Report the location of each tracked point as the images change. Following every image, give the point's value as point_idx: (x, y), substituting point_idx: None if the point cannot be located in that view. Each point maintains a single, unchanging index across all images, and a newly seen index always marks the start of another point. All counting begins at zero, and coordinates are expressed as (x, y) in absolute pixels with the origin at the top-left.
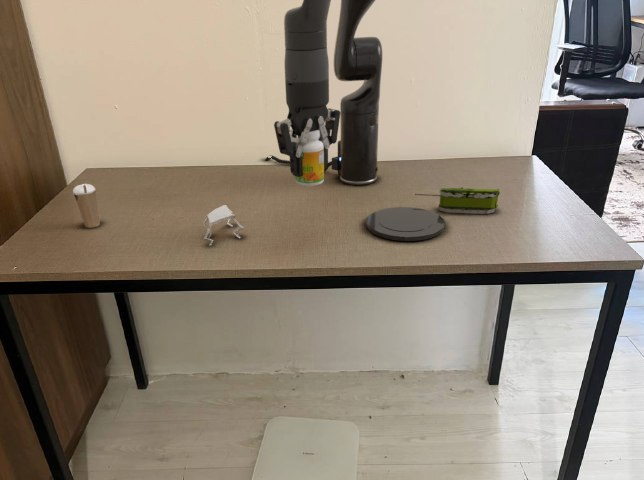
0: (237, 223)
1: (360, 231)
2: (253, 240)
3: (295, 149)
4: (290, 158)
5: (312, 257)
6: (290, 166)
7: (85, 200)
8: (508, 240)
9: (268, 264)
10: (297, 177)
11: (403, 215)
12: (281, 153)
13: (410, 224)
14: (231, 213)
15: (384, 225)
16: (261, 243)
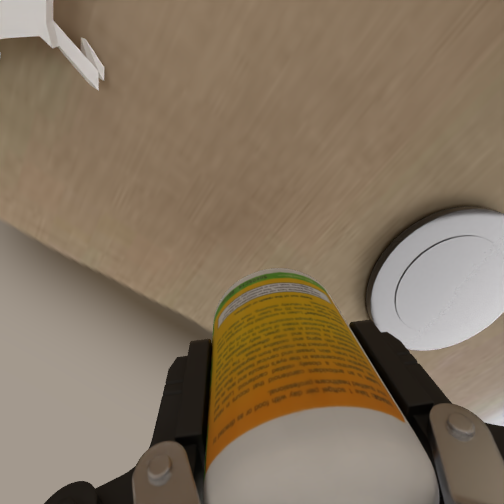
0: (74, 66)
1: (365, 247)
2: (132, 122)
3: (205, 483)
4: (153, 443)
5: (208, 286)
6: (165, 389)
7: None
8: (476, 396)
9: (113, 261)
10: (212, 338)
11: (473, 267)
12: (64, 489)
13: (437, 307)
14: (44, 14)
15: (403, 283)
16: (144, 155)
